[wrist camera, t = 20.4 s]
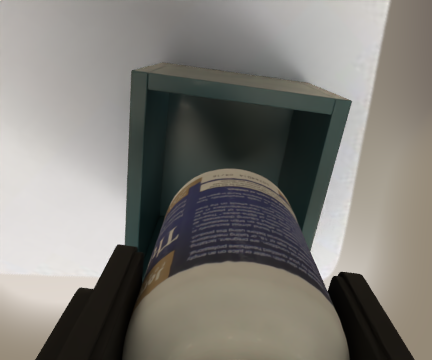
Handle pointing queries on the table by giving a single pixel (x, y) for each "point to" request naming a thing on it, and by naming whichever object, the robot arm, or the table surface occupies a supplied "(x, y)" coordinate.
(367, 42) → the table surface
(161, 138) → the teal open box
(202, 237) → the pill bottle
